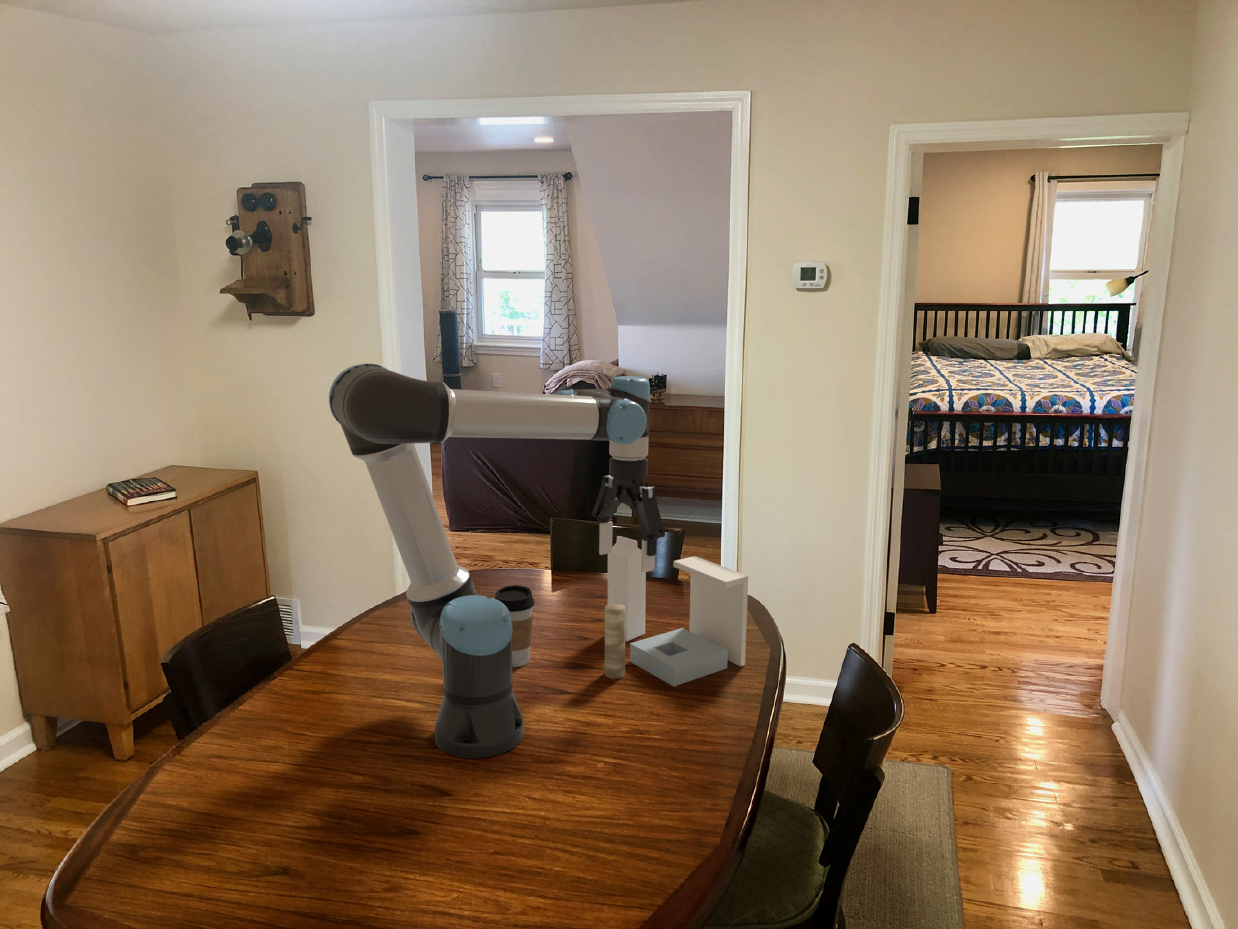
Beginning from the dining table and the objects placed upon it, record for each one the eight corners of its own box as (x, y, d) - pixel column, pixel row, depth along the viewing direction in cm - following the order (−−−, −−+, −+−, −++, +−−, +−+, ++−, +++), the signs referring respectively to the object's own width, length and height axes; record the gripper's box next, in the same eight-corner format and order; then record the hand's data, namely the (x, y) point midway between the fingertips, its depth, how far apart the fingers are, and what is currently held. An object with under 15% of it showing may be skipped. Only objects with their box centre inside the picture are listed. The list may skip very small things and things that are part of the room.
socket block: (673, 686, 171) (673, 667, 171) (630, 661, 183) (630, 643, 182) (727, 668, 180) (727, 649, 179) (682, 645, 191) (682, 627, 190)
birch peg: (612, 680, 174) (612, 613, 171) (600, 673, 177) (600, 606, 174) (629, 675, 176) (629, 608, 173) (617, 668, 179) (617, 602, 177)
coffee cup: (539, 653, 186) (537, 585, 183) (531, 671, 178) (529, 600, 175) (499, 651, 187) (497, 584, 184) (489, 669, 179) (487, 598, 176)
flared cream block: (723, 672, 178) (725, 582, 174) (672, 646, 190) (673, 561, 186) (745, 665, 181) (748, 576, 177) (693, 639, 194) (695, 555, 190)
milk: (627, 642, 193) (627, 544, 188) (607, 634, 197) (606, 538, 192) (645, 633, 197) (646, 538, 192) (625, 626, 201) (625, 532, 196)
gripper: (686, 465, 165) (681, 575, 169) (605, 445, 184) (603, 543, 189) (655, 470, 161) (651, 582, 165) (576, 448, 180) (574, 549, 184)
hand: (626, 562), depth 177 cm, fingers open, 13 cm apart
